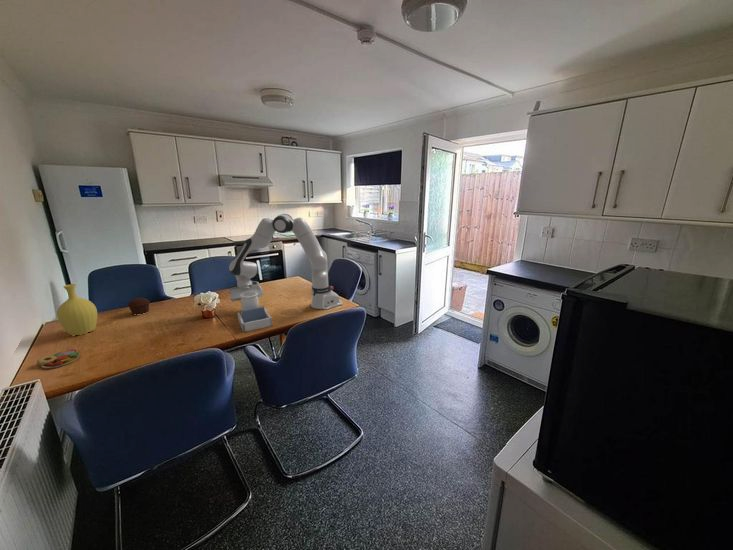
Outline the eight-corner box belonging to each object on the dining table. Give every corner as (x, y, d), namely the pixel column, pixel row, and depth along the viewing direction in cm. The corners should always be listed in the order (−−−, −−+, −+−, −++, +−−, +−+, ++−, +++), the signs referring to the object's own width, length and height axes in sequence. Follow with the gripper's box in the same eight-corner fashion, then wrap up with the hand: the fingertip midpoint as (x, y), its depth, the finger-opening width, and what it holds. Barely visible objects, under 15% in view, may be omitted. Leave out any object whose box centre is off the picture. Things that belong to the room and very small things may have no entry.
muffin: (130, 317, 186) (126, 303, 183) (128, 312, 194) (125, 298, 191) (152, 313, 193) (149, 298, 191) (150, 308, 201) (147, 294, 199)
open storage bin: (265, 314, 191) (264, 307, 189) (272, 325, 175) (271, 318, 174) (238, 320, 183) (237, 312, 181) (243, 332, 167) (242, 324, 166)
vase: (71, 328, 171) (57, 282, 164) (106, 323, 177) (94, 279, 170) (56, 340, 157) (41, 291, 149) (94, 335, 163) (81, 287, 155)
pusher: (264, 317, 185) (263, 306, 183) (265, 319, 183) (264, 307, 181) (242, 322, 178) (240, 310, 176) (243, 323, 177) (241, 311, 175)
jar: (254, 320, 183) (252, 297, 179) (239, 318, 184) (236, 296, 180) (262, 313, 193) (260, 291, 189) (248, 312, 195) (245, 291, 190)
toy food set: (34, 366, 135) (32, 360, 134) (70, 352, 146) (69, 346, 146) (51, 372, 130) (48, 366, 129) (87, 357, 142) (85, 351, 141)
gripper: (227, 286, 189) (231, 305, 184) (260, 281, 199) (265, 299, 194) (228, 290, 194) (231, 309, 189) (260, 285, 204) (264, 303, 199)
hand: (248, 304), depth 192 cm, fingers closed
